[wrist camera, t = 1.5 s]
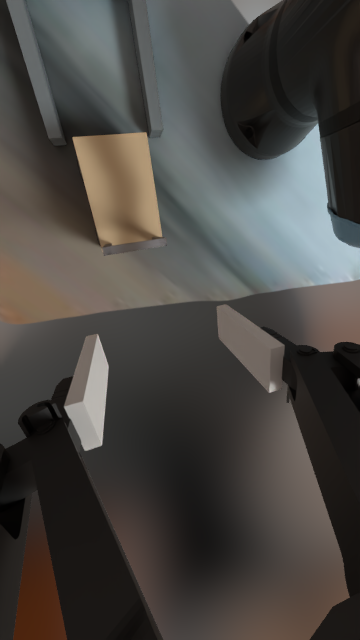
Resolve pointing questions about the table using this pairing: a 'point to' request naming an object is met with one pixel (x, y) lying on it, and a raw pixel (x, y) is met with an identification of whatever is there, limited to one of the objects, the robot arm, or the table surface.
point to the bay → (42, 84)
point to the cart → (120, 191)
